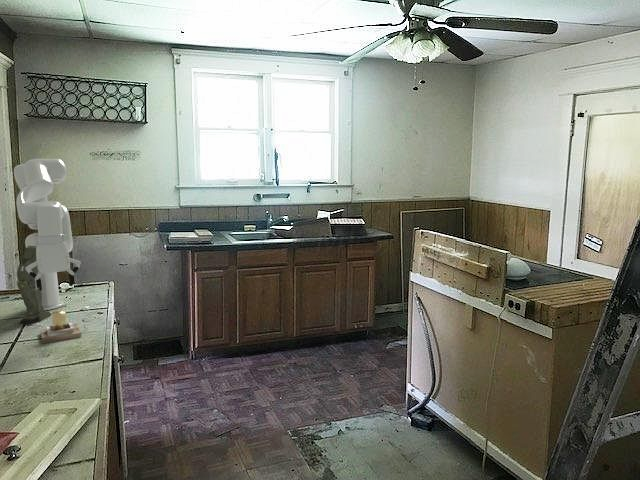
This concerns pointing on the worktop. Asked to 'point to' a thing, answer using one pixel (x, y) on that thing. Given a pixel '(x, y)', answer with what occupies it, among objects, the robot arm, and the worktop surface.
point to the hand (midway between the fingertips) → (56, 287)
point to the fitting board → (60, 333)
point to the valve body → (59, 320)
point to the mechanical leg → (30, 289)
